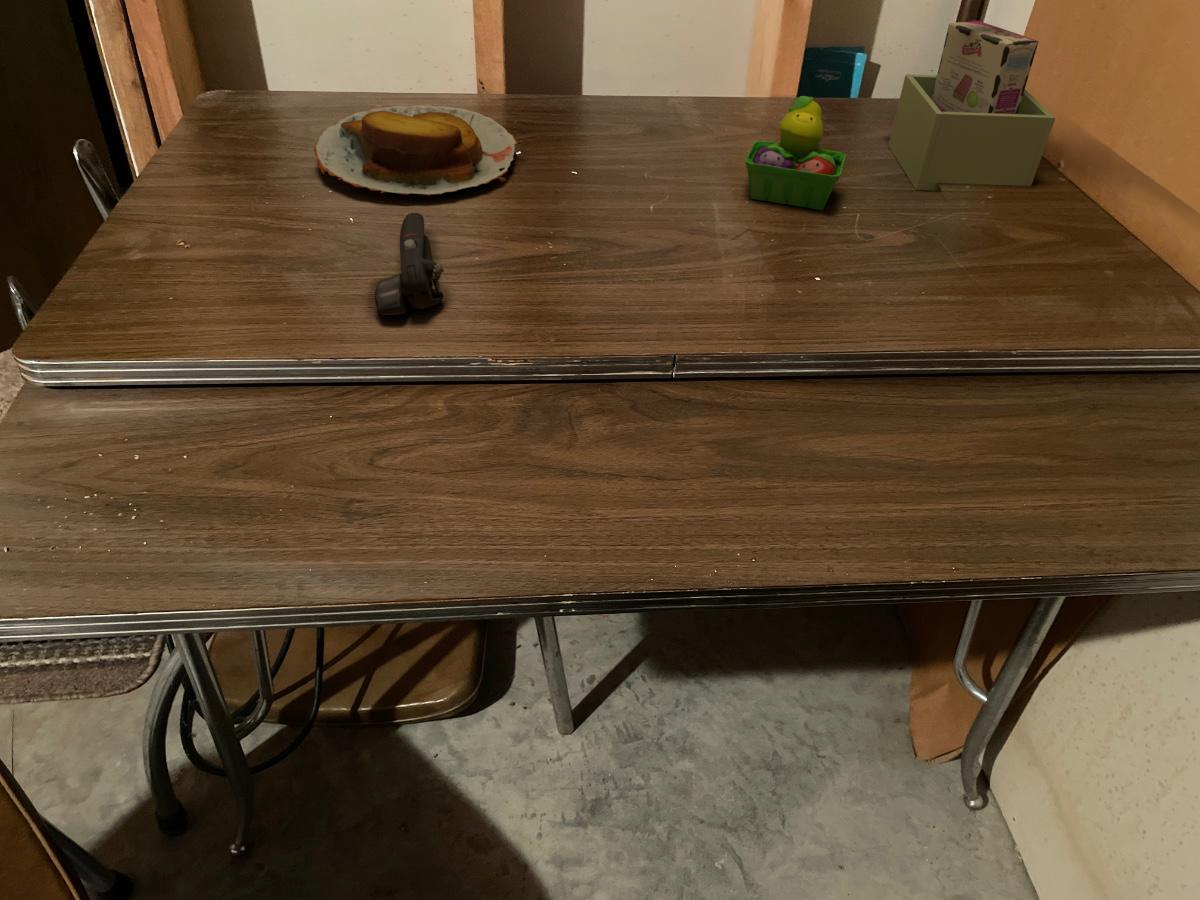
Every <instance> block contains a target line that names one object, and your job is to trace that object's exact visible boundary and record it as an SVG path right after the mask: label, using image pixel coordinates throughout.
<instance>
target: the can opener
mask: <svg viewBox="0 0 1200 900" xmlns="http://www.w3.org/2000/svg"><path fill="white" fill-rule="evenodd" d="M399 253H400V254H399V255H400V256H399V257H400V272H401V273H400V272H399V273H396V274H393V275H390V276H388V277H386V278H383V279H380V280H378V282H377V283H376V286H375V289H374V303H375V306H376V308H377V311H378V312H379V314H380V315H381V316H388V315H389V316H390V315H404V314H406V312H407V311H408V308H409V304H410V306H411V307H412V308H414V309H418V310H423V309H427V308H431V307H433V306H435V305H437V304H438V303H440V302H441V301H443V299H444V298H445V297H444V296H445V295H444V293H443V292H442V290H441V285H440V281H439V280H440V278H441V276H442V275H443V273H444V272H445V271H446V269H445V268H443V260H440V261H439V263H438V262H437V259H434V260H432V246H431V242H430V239H429V237H428V235H426V234H425V219H424V215H423V214H420V213H418V212H411V213H408V214H407V215H406V216H405V217H404V219H403V221H402V223H401V226H400V232H399Z"/></svg>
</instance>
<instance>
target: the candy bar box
mask: <svg viewBox="0 0 1200 900" xmlns="http://www.w3.org/2000/svg"><path fill="white" fill-rule="evenodd" d="M1039 42H1040V41H1039V40H1036V39H1033V38H1031V37H1028V36H1025V35H1022V34H1019V33H1016V32H1013V31H1010V30H1007V29H1005V28H1001V27H998V26H995V25H992V24H989V23H987V22H983V21H980V20H967V21H966V20H963V21H957V22H949V23H948V28H947V31H946V36H945V40H944V44H943V48H942V52H941V57H940V62H939V64H938V70H937V78H936V82H935V86H934V91H933V95H932V101H933V102H934V103H935V105H936V106H937V107H938V108H939V109H940V111H941V112H968V113H996V114H1018V110H1019V107H1020V103H1021V100H1022V97H1023V93H1024V90H1026V86H1027V83H1028V80H1029V76H1030V72H1031V69H1032V65H1033V63H1034V58H1035V55H1036V52H1037V48H1038V45H1039Z"/></svg>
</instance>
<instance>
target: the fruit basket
mask: <svg viewBox="0 0 1200 900" xmlns="http://www.w3.org/2000/svg"><path fill="white" fill-rule="evenodd" d="M788 110H789V112H788V113H787V114H786V115H785V116H784V117H782V120H781V122H780V123H779V129H780V130H779V135H780V137H779V139H780V142H775V141H766V140H757V141H755V142H753V144H752V146H751V148H750V149H749V152H748V154H747V155H746V157H745V160H744V161H745V168H746V169H747V177H748V178H747V179H748V186H749V187H748V188H749V195H750V199H751V200H756V201H765V202H766V201H767V202H769V203H774V204H781V205H782V204H783V205H786V204H787V205H789V206H793V207H798V208H808V209H811V210H819V211H823V210H824V208H825V207H826V205H827V202H828V200H829V198H830V197H831V193H832V191H833V189H834V187H835V185H836V183H837V182H838V181H839V179H840V177H841V176H842V170H843V167H844V163H845V161H846V159H847V155H846V153H844V152H841V151H837V150H836V151H835V150H831V149H830V150H829V149H823V148H819V145H820V144H819V143H820V142H821V141H822V139H823V136H824V124H823V120H822V119H823V110H822V108H821V106H820V104H819V103H818V102H816V101H815V97H813V96H808V95H800V96H798V97H797V98H796V99H794V102H793V104H792V106H791V107H789V109H788Z"/></svg>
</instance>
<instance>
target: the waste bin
mask: <svg viewBox="0 0 1200 900" xmlns="http://www.w3.org/2000/svg"><path fill="white" fill-rule="evenodd" d="M936 78H937V75H935V74H907V73H906V74H905V75H904V79H903V83H902V87H901V92H900V95H899V99H898V100H899V101H898V104H897V108H896V112H895V117H894V119H893V120H894V121H893V124H892V128H891V132H890V137H889V141H888V145H887V147H888V149H889V150H890V152H891V153H892V155H893V156H894V158H895V159H896V161H897V162H898V164H899V166H900V167H901V169H902V170H903V172H904V173H905V175H906V176H907V179H908V180H909V181H910V183H911V184H912V186H913V188H914V190H915V191H931V192H932V191H934V192H943V190H942V188H941V186H940V185H939V184H956V185H957V184H959V185H985V186H987V185H989V186H1014V187H1015V186H1017V187H1032V185H1033V182H1034V179H1035V177H1036V174H1037V171H1038V169H1039V165H1040V163H1041V159H1042V157H1043V155H1044V151H1045V148H1046V146H1047V143H1048V140H1049V136H1050V134H1051V131H1052V129H1053V127H1054V124H1055V121H1056V116H1054V115H1053V114H1052V113H1051V112H1050V111H1049V110H1048V109H1047V108H1046V107H1045V106H1044V105H1042V104H1041V103H1040V102H1039V100H1037V99H1036V98H1035V97H1034V96H1033V95H1032V94H1031V93H1030V92H1029V91H1028V90H1027V89H1025V90H1024V93H1023V97H1022V100H1021V103H1020V107H1019V110H1018V114H996V113H968V112H941V111H940V109H939V108H938V107H937V106H936V105H935V103H934V102H933V101H932V95H933V91H934V86H935V82H936Z"/></svg>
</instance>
